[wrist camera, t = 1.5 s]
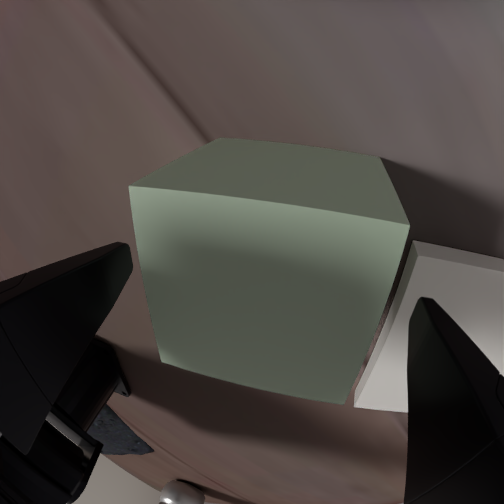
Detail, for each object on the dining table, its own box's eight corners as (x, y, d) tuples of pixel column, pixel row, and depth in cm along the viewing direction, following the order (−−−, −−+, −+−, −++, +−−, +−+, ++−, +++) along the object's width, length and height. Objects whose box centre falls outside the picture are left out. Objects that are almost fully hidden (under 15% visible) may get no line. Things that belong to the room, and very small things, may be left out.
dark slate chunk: (96, 433, 39) (82, 455, 35) (1, 328, 31) (-20, 350, 27) (164, 452, 33) (150, 481, 29) (44, 322, 25) (14, 354, 21)
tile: (489, 399, 14) (492, 414, 13) (355, 390, 17) (353, 406, 16) (570, 275, 9) (580, 289, 8) (412, 240, 11) (418, 255, 10)
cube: (351, 290, 14) (343, 405, 9) (221, 267, 15) (161, 361, 10) (379, 156, 10) (410, 224, 5) (220, 137, 12) (128, 186, 7)
